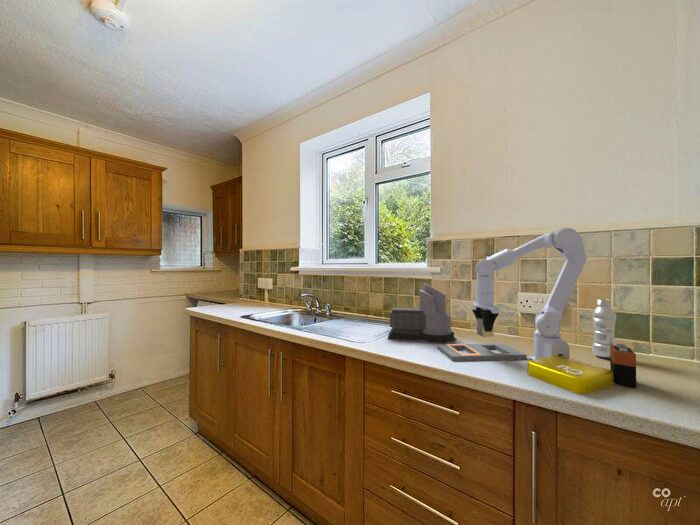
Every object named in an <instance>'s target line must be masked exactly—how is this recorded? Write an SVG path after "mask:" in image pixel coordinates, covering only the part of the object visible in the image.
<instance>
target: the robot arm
mask: <svg viewBox="0 0 700 525" xmlns="http://www.w3.org/2000/svg"><path fill="white" fill-rule="evenodd" d="M583 242H584V241H583V238H582V236H581V235H580V234H579V232H578V231H576V230H575V229H574V228H571V227H563V228H560V229H558V230H557V231H555V230H554V231H552V232H548V233H546V234H542V235H541V236H538V237H536V238H534V239H532V240H530V241H528V242H526V243H523V244H522V245H520V246H518V247H516V248H514V249H509V248H505V249H503V248H501V249H500V250H498V252H496V253H494V254H492V255H490V256H489V255H487V256H486V257H485V258H484V259H480V260H479V261H478V262H477V263H476V264H475V272H476V281H475V289H476V290H475V291H476V292H475V294H476V295H475V296H476V299H475V300H476V301H475V302H474V301H473V302H472V307H473V308H474V309H472V310H471V311H472V313H473V314H474V318H475V319H476V321H477V318H483V321H484V329H485V331H486V332H492V328H493V325H494V324H495V322H496V320H497V318H498V316H499V314H500V308H499V307H498V306H496V305H495V304H494V303H495V302H494V295H495V294H494V287H495V286H494V278H493V277H494V276H493V273H494V271H496V272H498V271H500V270H503V269H505V268H507V267H509V266H512V265H514V264H516V262H517V259H518V258H520V257H522V256H525V255H527V254H529V253H531V252H534V251H536V250H538V249H542V248H546V249H547V248H552V247H553V248H555V250H557V251H559V252H560V254H561V255H562V257H563V258H564V260H565V262H564V264H563V266H562V268H561V270H560V273H559V275H558V277H557V279H556V281H555V284H554V286H553V288H552V291H551V293H550V295H549V297H548V299H547V301H546V304H545V305H544V307H542V310H541V312H539V313H538V314H537V315H536V316H534V317H535V318H534V324H535V326H536V330H535V331H533V344H534V345H533V346H534V347H533V348H534V350H533V352H534V354H533V356H531V355H530V356H527V359H530V360H534V359H540V358H545V357H551V356H556V355H559V356H563V357H566V358H570V345H569V343H568V342H567V341H566V340H564V339H563V338H562V336H561V335H562V334H561V332H560V331H561V330H562V329H561V328H562V327H561V321H562V319H563V313H564V309H565V307H566V305H567V303H568V301H569V299H570V296H571V295H572V291H573V290H574V287H575V286H576V284H577V281H578V279H579V277H580V275H581V273H582V270H583V269H584V266H585V265H586V262H587V254H586V250H585V247H584V244H583Z"/></svg>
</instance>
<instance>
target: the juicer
mask: <svg viewBox="0 0 700 525" xmlns="http://www.w3.org/2000/svg"><path fill="white" fill-rule="evenodd" d="M446 299H447V295H446V294H444V293H443V292H441V291H440V290H437V289H436V288H434V287H433V286H430V285H429V284H427V283H425V282H424V283H423V289H419V307H392V309H390V310H389V328H391V329H390V331H389V332H388V334H387V340H388V341H391V340H392V341H393V340H395V341H412V342H414V341H415V342H425V343H433V344H447V343H446V342H450V343H449V344H453V343H452V342H454V343H456V342H457V341H458V339H457V337H455V332H454V331H453V330H452V324H451V322H452V318H451V316H450V314H448V313H447V312H446ZM456 340H457V341H456ZM455 341H456V342H455Z"/></svg>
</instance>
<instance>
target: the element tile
mask: <svg viewBox="0 0 700 525" xmlns="http://www.w3.org/2000/svg"><path fill="white" fill-rule="evenodd" d="M527 375H528V376H529V377H532V378H534V379H537V380H540V381H542V382H544V383H548V384H550V385H552V386H555V387H558V388H560V389H562V390H566V391H569V392H570V393H575V394H578V395H590V394H593V393H597V392H600V391H601V392H602V391H604V390H607V389H611V388H614V386H615V384H614V373H613V371H612V370H610V369H609V368H605V367H601V366H597V365H594V364H592V363H591V364H590V363H587V362H583V361H582V360H576V359H574V358H570V357H569V358H566V357H563V356H559V355H556V356H551V357H545V358H540V359H534V360H532V359H530V360H528V361H527Z"/></svg>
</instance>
